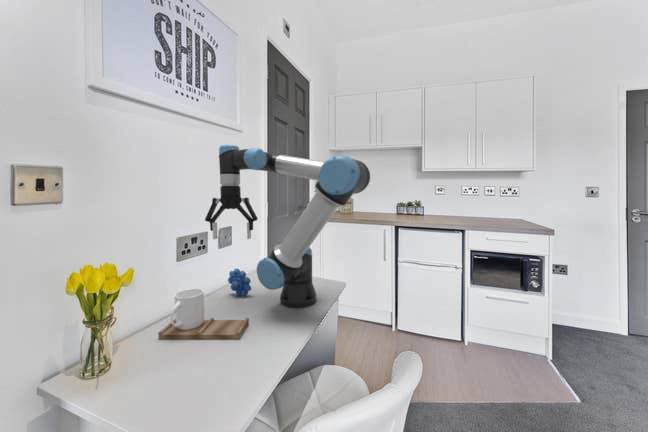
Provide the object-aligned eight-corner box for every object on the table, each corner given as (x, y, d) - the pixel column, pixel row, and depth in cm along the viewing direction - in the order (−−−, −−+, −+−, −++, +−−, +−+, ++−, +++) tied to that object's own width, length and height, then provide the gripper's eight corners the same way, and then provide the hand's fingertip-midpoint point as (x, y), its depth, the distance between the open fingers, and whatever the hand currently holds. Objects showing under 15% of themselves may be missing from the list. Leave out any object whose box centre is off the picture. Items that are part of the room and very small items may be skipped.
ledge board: (248, 324, 95) (248, 317, 95) (239, 339, 85) (239, 332, 85) (176, 324, 95) (176, 317, 95) (158, 339, 85) (158, 332, 85)
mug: (160, 333, 86) (158, 300, 85) (189, 317, 97) (188, 287, 96) (183, 337, 83) (181, 303, 82) (210, 320, 95) (209, 289, 94)
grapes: (222, 297, 120) (221, 270, 119) (232, 292, 126) (231, 266, 125) (245, 300, 116) (244, 272, 115) (254, 295, 122) (253, 268, 121)
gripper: (263, 185, 113) (265, 236, 115) (202, 186, 113) (205, 237, 115) (259, 184, 106) (261, 239, 107) (194, 185, 106) (196, 240, 107)
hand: (232, 238), depth 111 cm, fingers open, 13 cm apart
